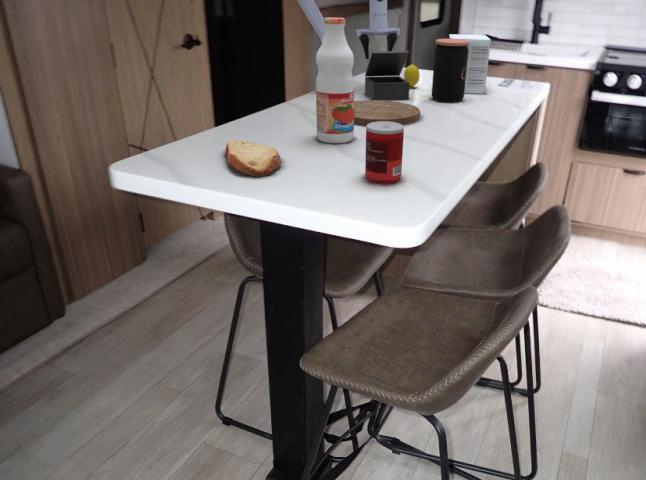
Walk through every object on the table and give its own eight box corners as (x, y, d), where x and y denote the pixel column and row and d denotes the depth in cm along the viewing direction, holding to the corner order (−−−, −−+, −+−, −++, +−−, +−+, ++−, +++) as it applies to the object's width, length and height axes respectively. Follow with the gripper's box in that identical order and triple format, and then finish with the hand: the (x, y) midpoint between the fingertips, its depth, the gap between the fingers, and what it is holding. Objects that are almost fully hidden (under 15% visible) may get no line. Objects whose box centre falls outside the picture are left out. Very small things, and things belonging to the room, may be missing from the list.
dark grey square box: (408, 99, 195) (409, 82, 192) (373, 100, 192) (373, 83, 190) (398, 92, 205) (399, 76, 202) (364, 93, 202) (365, 76, 199)
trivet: (406, 130, 161) (407, 123, 160) (321, 120, 167) (321, 113, 166) (428, 111, 181) (429, 104, 180) (351, 103, 188) (352, 97, 187)
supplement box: (444, 85, 218) (448, 33, 209) (480, 86, 217) (486, 34, 208) (447, 92, 206) (451, 38, 197) (485, 94, 206) (491, 39, 197)
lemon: (400, 86, 214) (401, 63, 210) (414, 85, 216) (415, 62, 212) (407, 89, 210) (409, 65, 206) (421, 88, 212) (423, 64, 208)
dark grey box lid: (408, 52, 190) (406, 41, 191) (372, 53, 187) (370, 42, 188) (399, 75, 202) (397, 65, 202) (365, 76, 199) (363, 65, 200)
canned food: (399, 172, 129) (402, 121, 124) (402, 184, 122) (405, 131, 117) (364, 172, 129) (365, 120, 123) (365, 184, 122) (366, 130, 116)
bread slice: (235, 147, 143) (234, 131, 141) (302, 156, 137) (302, 140, 136) (190, 168, 128) (188, 150, 127) (263, 179, 123) (262, 161, 121)
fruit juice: (329, 132, 157) (328, 15, 143) (360, 137, 153) (362, 18, 139) (309, 140, 150) (306, 18, 136) (341, 146, 146) (341, 20, 132)
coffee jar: (465, 103, 192) (471, 43, 183) (432, 102, 192) (437, 42, 183) (461, 96, 201) (467, 39, 192) (430, 95, 201) (434, 38, 192)
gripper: (359, 16, 190) (359, 61, 197) (402, 14, 193) (401, 59, 200) (354, 14, 196) (355, 57, 203) (396, 13, 199) (395, 56, 206)
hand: (377, 58), depth 202 cm, fingers open, 7 cm apart
